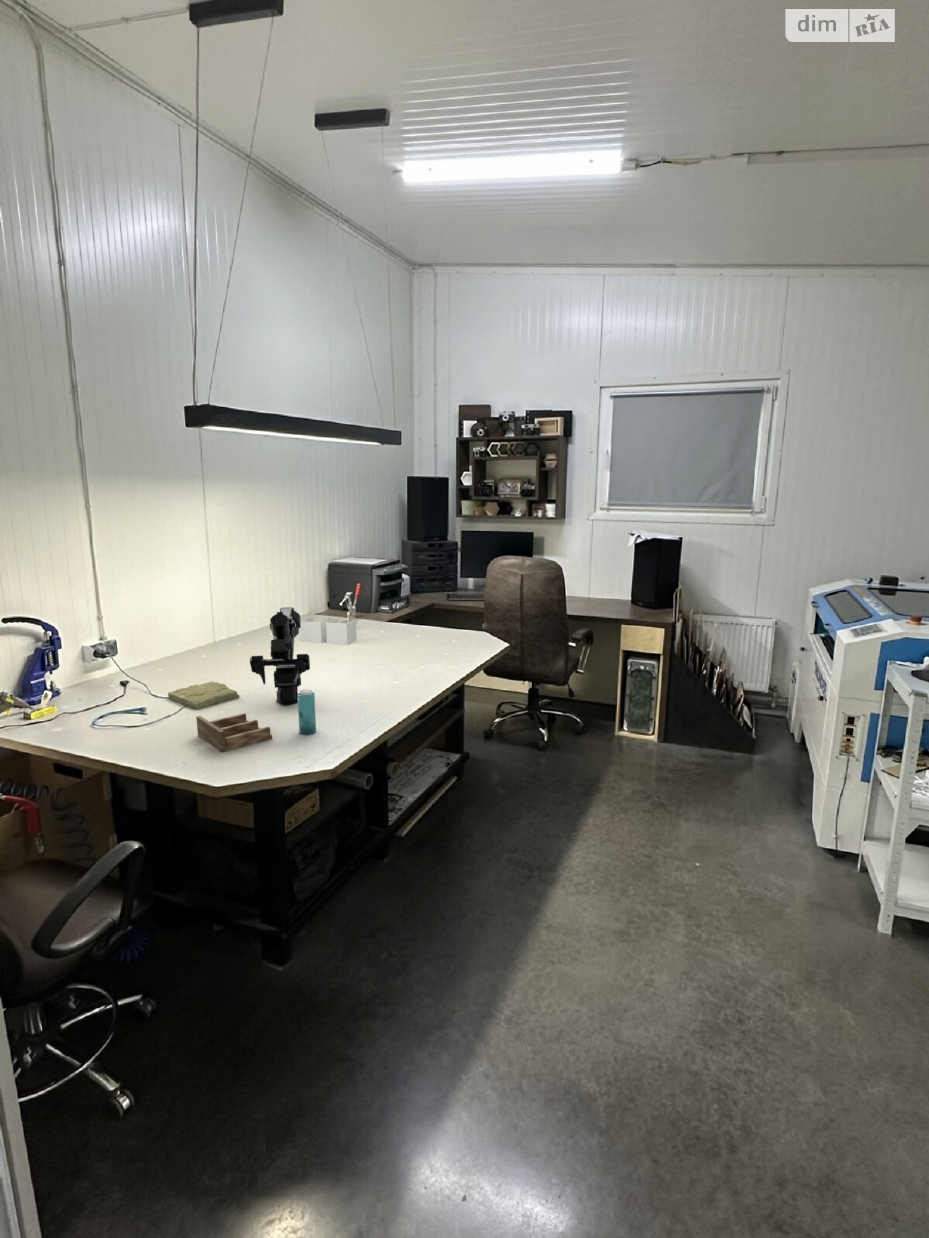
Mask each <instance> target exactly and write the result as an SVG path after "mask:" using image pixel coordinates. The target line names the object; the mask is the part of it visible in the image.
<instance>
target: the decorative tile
mask: <svg viewBox="0 0 929 1238" xmlns="http://www.w3.org/2000/svg"><path fill="white" fill-rule="evenodd" d="M167 694H168V695H167V696H168V699H169V700H172V701H174V702H176V703H179V704H181V705H184V706H187V707H189V708H191V709H193V710H200V709H205V708H209V707H212V706H215V705H220V704H223V703H225V702H229V701H233V700H237V699H239V698H240V694H238V691H237V690H235V689H230V688H229V686H227V685H226V684H225V683H221V682H216V681H209V682H205V683H201V684H192V685H189V686H187V687H181V688H178V689H175V690H173V691H168V693H167Z"/></svg>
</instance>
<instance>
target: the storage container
mask: <svg viewBox="0 0 929 1238" xmlns="http://www.w3.org/2000/svg"><path fill="white" fill-rule="evenodd" d="M331 618H332V617H328V618H327V619H324V620H322V621H314V616H309V617H307V618H305V619H301V628H300V638H301V639H300V641H301V643H305V644H306V643H308V644H309V643H310V644H320V643H321V644H323V643H326V645H337V646H349V645H351V644H353V643H354V642H355V643H356V640H357V619H353V620H351V621H349V622H347V623H342V622H341V623H340V622H339V618H337V617H336V618H334V619H331ZM357 641H358V640H357Z"/></svg>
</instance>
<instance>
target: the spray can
mask: <svg viewBox="0 0 929 1238" xmlns="http://www.w3.org/2000/svg"><path fill="white" fill-rule="evenodd" d="M315 695H316V694H315V692H313V690H312V689H301V690H299V693H298V702H297V707H298V708H297V711H298V712H297V713H298V731H299V734H300V735H302V736H309V735H313V734H315V733H316V732H317V723H316V722H317V721H316V720H317V718H316V698H315Z"/></svg>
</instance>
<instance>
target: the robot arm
mask: <svg viewBox="0 0 929 1238" xmlns="http://www.w3.org/2000/svg"><path fill="white" fill-rule="evenodd" d="M269 619H270V620H269V621H270V622H269V628H270V630H271V633H272V635H273V636H272V637H273V639H271V640H270V657H271V658H266V659H264V655H252V656H251V657H250V658H249V664H250V665H249V666H250V669H251V673H255V674H257V675H259V676H260V678H261V680H262V683H263V685H266V671H265V668H266V667H271V666H272V667H275V670H274V671H273V682H274V683H273V684H274V688H276V689H277V690H276V700H275V701H276V703H278V704H281V705H282V706H289V705H292V704H293V705H294V704H296V703H297V704H298V694H299V693H298V691H299V690H298V688H299V686H302V677H301V675H302V674H303V673H306V672H307V671H310V669H311V661H310V655H309V654H308V653H297V654H296V658H294V652H295V638H296V637H297V636H298V635H299V633H300V629H301V621H302V619H301V615H300V613H299V612H297V611H296V610H295V607H293V606H285V607H280V609H279V611H277V612H276V614H274V615H273V616H271V618H269Z"/></svg>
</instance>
